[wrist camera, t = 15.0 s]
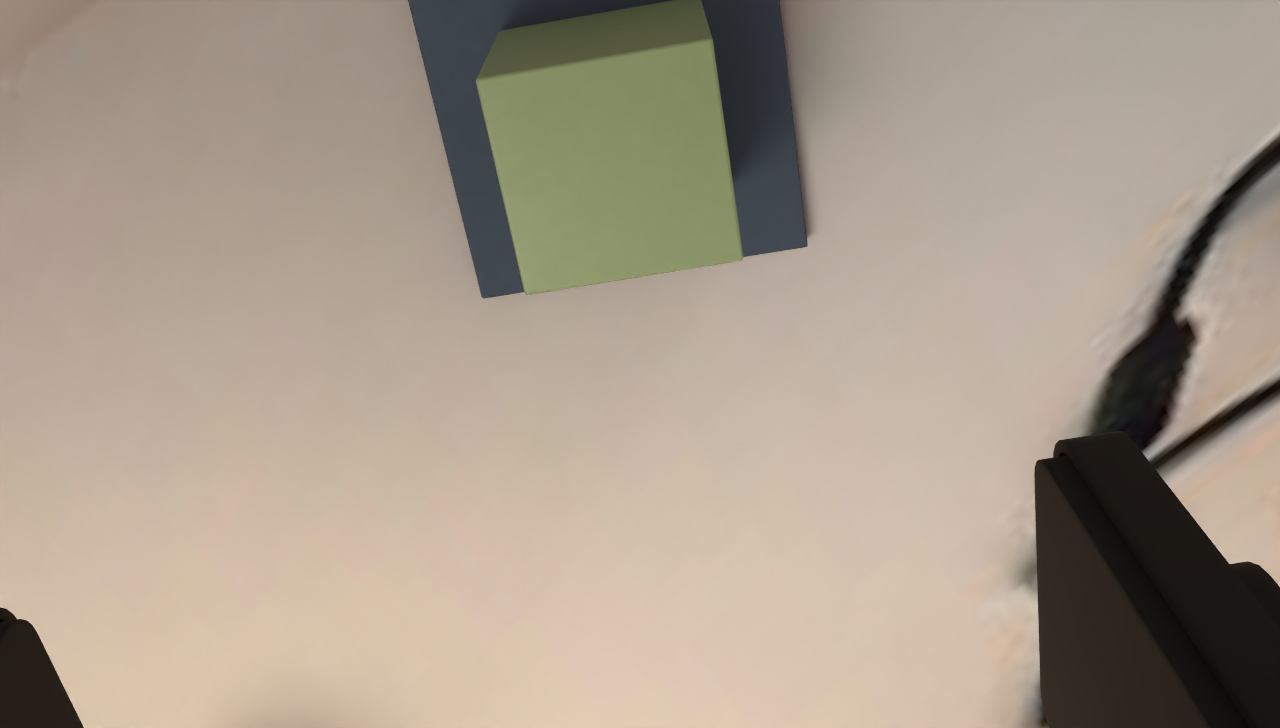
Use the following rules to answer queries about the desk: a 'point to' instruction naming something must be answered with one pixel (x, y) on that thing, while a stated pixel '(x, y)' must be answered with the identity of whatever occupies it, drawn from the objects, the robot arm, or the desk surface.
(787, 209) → the coaster
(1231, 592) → the robot arm
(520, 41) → the top block
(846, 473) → the desk surface
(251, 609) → the desk surface
